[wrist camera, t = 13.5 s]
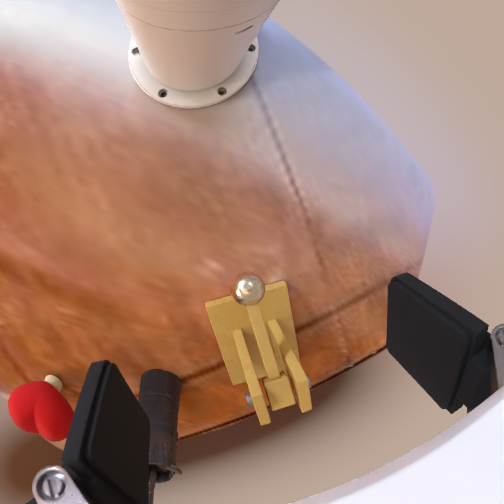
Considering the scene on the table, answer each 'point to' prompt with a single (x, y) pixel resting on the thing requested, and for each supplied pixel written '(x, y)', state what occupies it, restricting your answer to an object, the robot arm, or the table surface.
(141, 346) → the table surface
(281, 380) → the switch lever
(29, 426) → the red rounded lump
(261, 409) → the bracket
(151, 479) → the butter churn
